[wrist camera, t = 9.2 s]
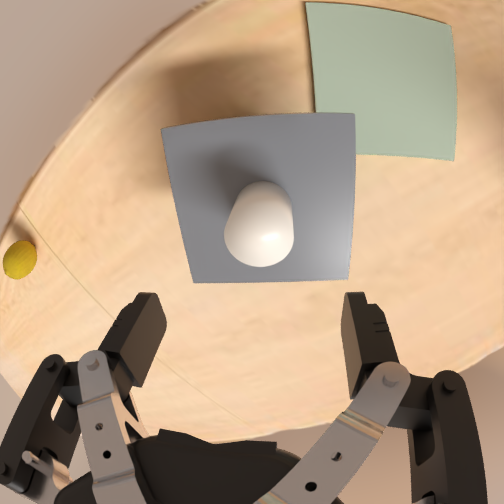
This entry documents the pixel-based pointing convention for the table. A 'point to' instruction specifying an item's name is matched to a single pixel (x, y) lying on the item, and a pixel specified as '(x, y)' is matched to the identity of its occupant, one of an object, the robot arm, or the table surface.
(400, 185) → the table surface
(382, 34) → the mat
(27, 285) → the table surface
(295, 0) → the table surface
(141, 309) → the robot arm
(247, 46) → the table surface
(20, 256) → the lemon
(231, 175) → the lid
